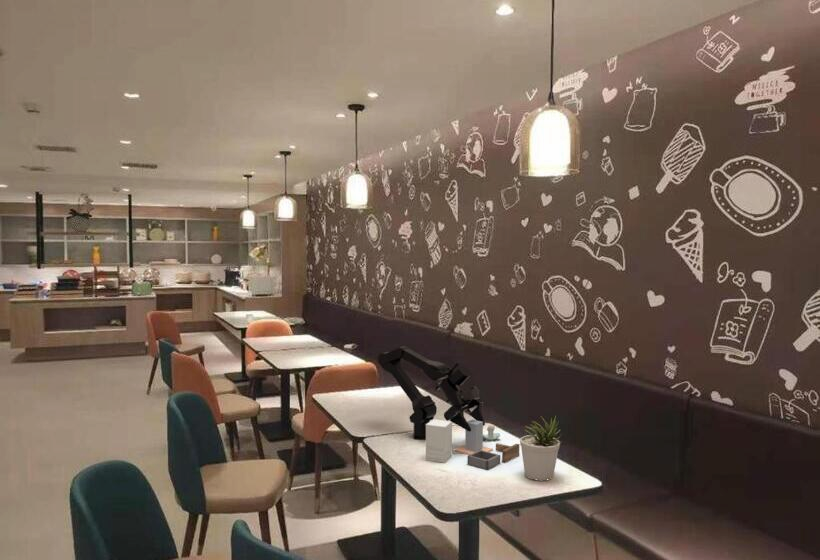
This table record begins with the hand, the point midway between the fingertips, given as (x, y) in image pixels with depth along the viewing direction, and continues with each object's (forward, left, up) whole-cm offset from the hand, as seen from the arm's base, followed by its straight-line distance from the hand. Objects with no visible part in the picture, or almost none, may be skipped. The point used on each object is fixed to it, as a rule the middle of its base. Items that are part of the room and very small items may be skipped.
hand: (477, 428), depth 212 cm
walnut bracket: (+7, -5, -9) cm, 13 cm away
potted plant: (+15, -25, -9) cm, 31 cm away
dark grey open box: (0, -13, -9) cm, 15 cm away
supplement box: (-15, -6, -9) cm, 18 cm away
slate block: (-1, +1, -8) cm, 8 cm away
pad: (-1, +1, -9) cm, 9 cm away
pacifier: (+8, +14, -9) cm, 18 cm away
